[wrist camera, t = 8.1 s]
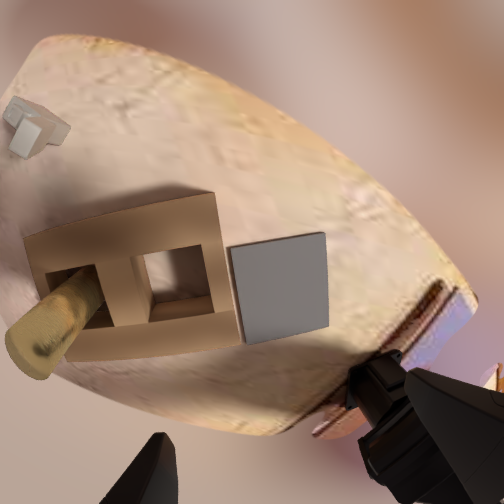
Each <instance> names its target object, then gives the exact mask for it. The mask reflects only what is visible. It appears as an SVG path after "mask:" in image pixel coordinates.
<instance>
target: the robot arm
mask: <svg viewBox="0 0 504 504" xmlns="http://www.w3.org/2000/svg"><path fill="white" fill-rule="evenodd" d="M401 358H402V352H401V351H400V350H397V351H394V352H392V353H390V354H387V355H384V356H382V357H379V358H377V359H374V360H371V361H369V362H366V363H363V364H360V365H358V366H355V367H352V368H351V369H350V370H349V372H348V381H347V391H346V399H345V409H346V410H351V409H354V408H357V407H359V408H360V410H361V411H362V413H363V415H364V416H365V418H366V419H367V421H368V422H369V424H370V425H371V427H372V428H373V429H372V430H371V431H370V432H369V433H367V434H366V435H365V436H364V437H361V438H360V439H358V444H359V448H360V451H361V455H362V457H363V460H364V464H365V466H366V469H367V473H368V474H369V477H370V478H371V479H374V480H375V481H376V482H377V483H379V484H380V485H383V486H387V488H388V489H389V490H390V491H391V493H392V494H393V496H394V497H395V499H396V500H397V501H398V502H399V503H401V504H413V503H414V502H417V503H423V504H504V501H503V498H504V393H501V392H497V391H494V390H489V389H486V388H483V387H479V386H475V385H472V384H469V383H465V382H462V381H459V380H456V379H452V378H449V377H446V376H443V375H440V374H437V373H434V372H430V371H427V370H424V369H421V368H418V367H415V368H413V369H411V370H409V371H408V372H407V371H406V370H405V369H404V368H403V367H402V366H401V365H400V363H401ZM99 504H178V476H177V467H176V454H175V447H174V445H173V443H172V441H171V440H170V438H169V437H168V435H167V434H166V433H165V432H156V433H154V434H153V435H152V436H151V438H150V439H149V440H148V442H147V443H146V444H145V446H144V447H143V448H142V450H141V451H140V452H139V453H138V455H137V456H136V457H135V459H134V460H133V461H132V463H131V464H130V465H129V466H128V468H127V469H126V470H125V472H124V473H123V474H122V475H121V477H120V478H119V479H118V481H117V482H116V483H115V484H114V486H113V487H112V488H111V489H110V491H109V492H108V493H107V494H106V497H104V498H103V499H102V500H101V502H100V503H99Z"/></svg>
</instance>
